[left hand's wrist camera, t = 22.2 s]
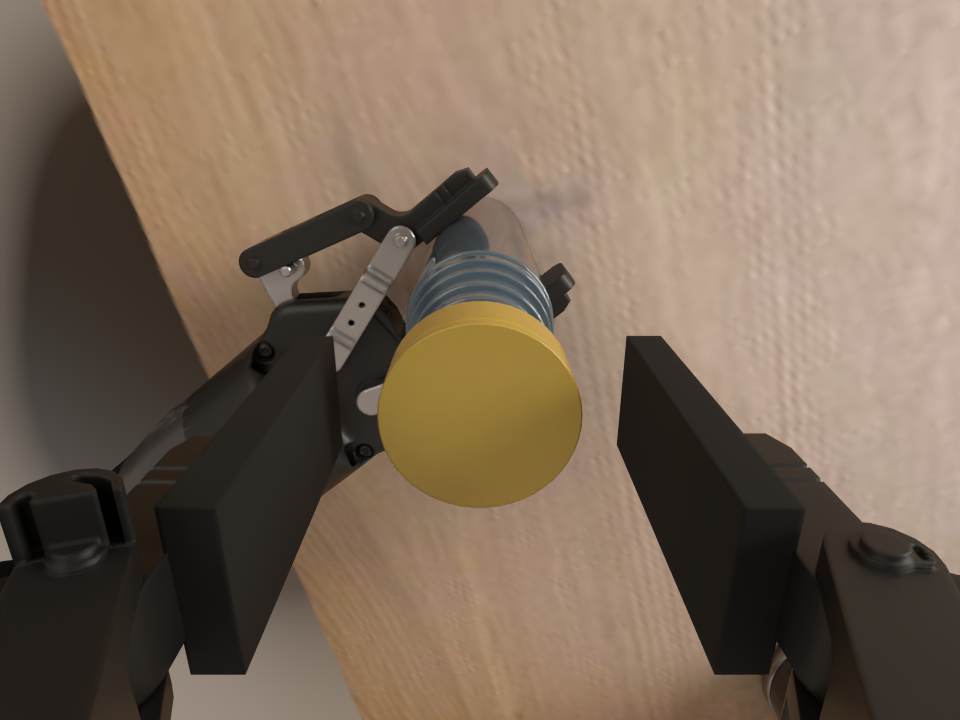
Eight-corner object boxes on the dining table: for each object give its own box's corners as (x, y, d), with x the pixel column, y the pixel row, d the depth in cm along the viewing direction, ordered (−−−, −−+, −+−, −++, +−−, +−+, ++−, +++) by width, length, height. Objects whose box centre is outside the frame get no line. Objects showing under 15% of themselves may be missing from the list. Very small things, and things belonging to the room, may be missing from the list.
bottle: (528, 200, 32) (599, 316, 13) (517, 286, 33) (566, 502, 14) (440, 191, 31) (380, 294, 13) (433, 278, 33) (371, 485, 14)
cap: (605, 349, 14) (621, 378, 12) (517, 493, 15) (521, 535, 14) (435, 267, 13) (429, 287, 12) (360, 424, 15) (345, 461, 13)
